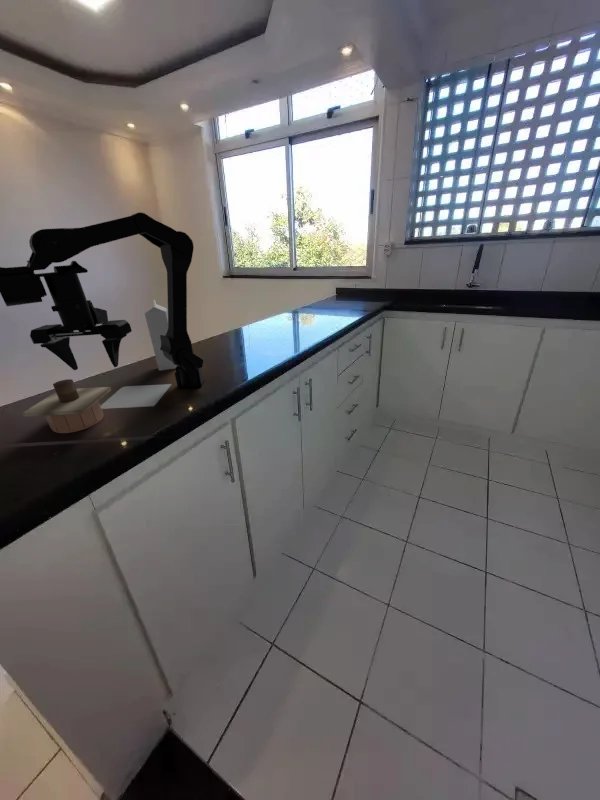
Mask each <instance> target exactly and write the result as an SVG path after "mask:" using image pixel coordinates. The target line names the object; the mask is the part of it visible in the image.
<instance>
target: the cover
mask: <svg viewBox="0 0 600 800" xmlns="http://www.w3.org/2000/svg"><path fill="white" fill-rule="evenodd" d="M52 385H53V386H52V387H53V389H54V390H55V392H53V393H52V394H50V395H48V396H47V397H45V398H44V399H42V400H41V401H39V402H37V403H36V404H33V406H31V407H29V408H28V409H27V410H25V411H24V412H21V415H22V417H24V418H25V417H27V418H28V417H45V416H48V415H66V414H83V413H84V412H85V411H87V410H88V409H89V408H90V407H91V406H93V405H94V404H95V403H96V402H98V401H100V400H102V398H104V397H105V396H106V395H107V394H109V393H110V392H111V391H112V387H111V386H104V387H103V386H102V387H88V388H87V387H86V388H84V387H82V388H81V387H79V388H76V387H77V386H75V382H74V380H73V379H72V378H71V379H61V380H58V381H56V382H54V383H53V384H52Z"/></svg>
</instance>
